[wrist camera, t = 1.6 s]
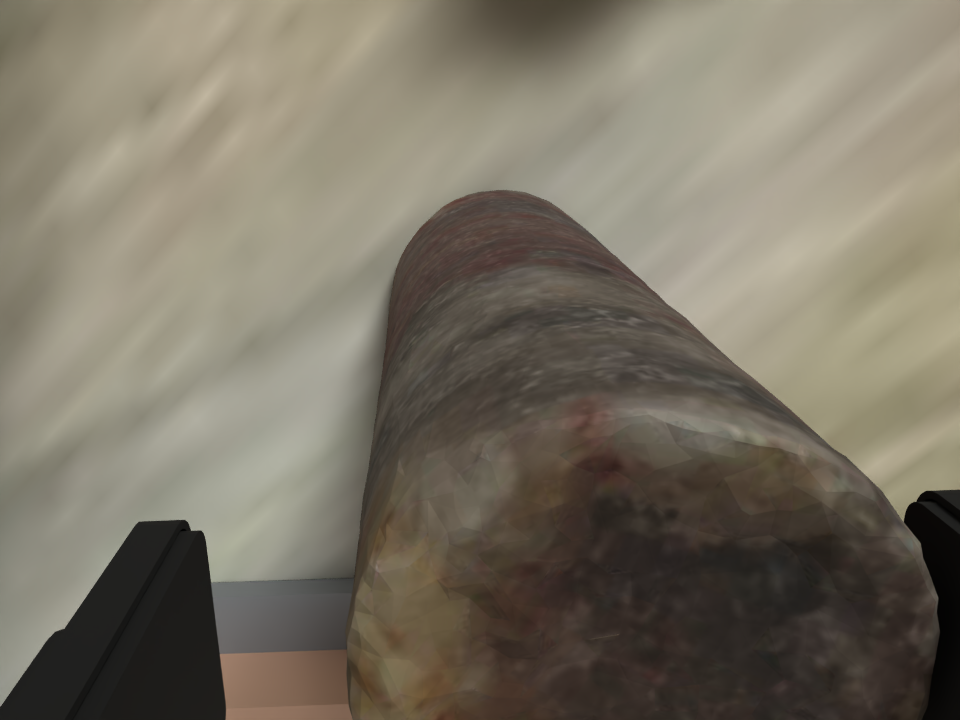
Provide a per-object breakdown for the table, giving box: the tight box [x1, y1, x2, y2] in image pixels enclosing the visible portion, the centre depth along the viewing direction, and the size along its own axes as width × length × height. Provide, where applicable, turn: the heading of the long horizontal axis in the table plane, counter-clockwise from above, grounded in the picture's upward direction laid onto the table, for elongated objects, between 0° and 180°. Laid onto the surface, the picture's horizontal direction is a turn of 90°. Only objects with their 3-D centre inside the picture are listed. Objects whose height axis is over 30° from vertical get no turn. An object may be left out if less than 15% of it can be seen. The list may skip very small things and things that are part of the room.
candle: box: [345, 190, 940, 720], centre depth 19 cm, size 8×7×20 cm
